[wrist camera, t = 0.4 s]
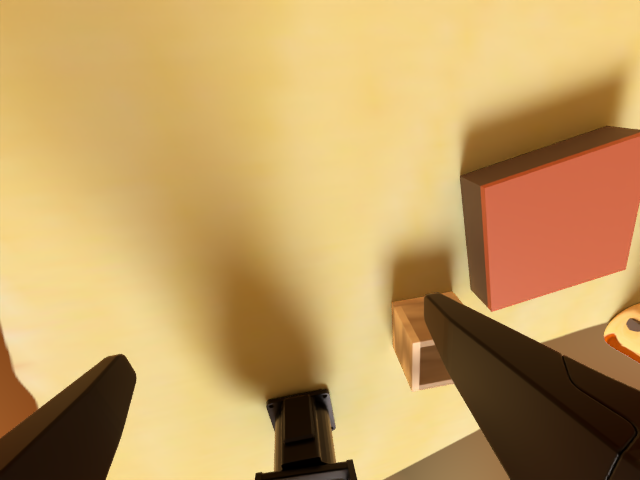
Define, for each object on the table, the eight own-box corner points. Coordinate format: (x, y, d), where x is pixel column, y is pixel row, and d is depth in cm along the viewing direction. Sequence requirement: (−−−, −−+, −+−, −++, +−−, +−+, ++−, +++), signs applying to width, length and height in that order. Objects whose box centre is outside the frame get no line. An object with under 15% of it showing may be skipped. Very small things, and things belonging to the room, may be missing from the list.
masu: (447, 335, 30) (476, 379, 25) (392, 346, 29) (411, 391, 25) (451, 290, 27) (484, 330, 23) (391, 301, 27) (412, 343, 22)
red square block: (586, 248, 27) (625, 269, 24) (468, 286, 27) (491, 311, 24) (601, 125, 22) (654, 131, 19) (456, 174, 22) (484, 188, 19)
